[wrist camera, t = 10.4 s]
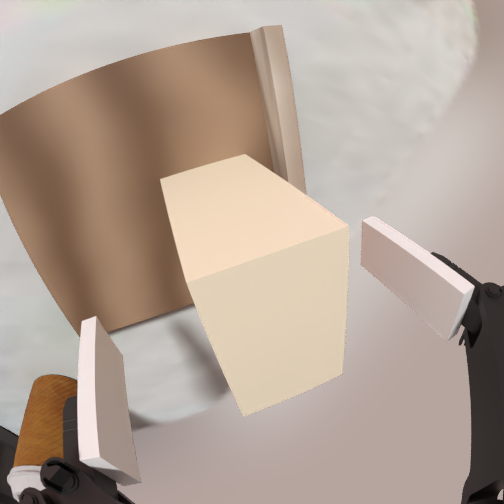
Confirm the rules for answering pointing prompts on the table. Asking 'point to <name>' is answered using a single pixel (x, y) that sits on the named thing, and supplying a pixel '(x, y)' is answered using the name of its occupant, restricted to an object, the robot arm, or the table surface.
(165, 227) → the shelf board
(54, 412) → the disposable coffee cup
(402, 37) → the table surface
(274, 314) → the carton
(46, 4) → the table surface
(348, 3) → the table surface
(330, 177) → the table surface
